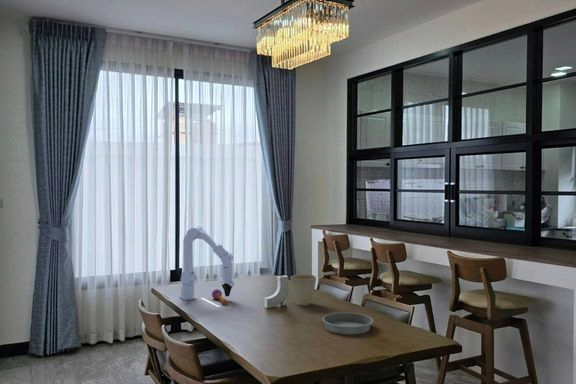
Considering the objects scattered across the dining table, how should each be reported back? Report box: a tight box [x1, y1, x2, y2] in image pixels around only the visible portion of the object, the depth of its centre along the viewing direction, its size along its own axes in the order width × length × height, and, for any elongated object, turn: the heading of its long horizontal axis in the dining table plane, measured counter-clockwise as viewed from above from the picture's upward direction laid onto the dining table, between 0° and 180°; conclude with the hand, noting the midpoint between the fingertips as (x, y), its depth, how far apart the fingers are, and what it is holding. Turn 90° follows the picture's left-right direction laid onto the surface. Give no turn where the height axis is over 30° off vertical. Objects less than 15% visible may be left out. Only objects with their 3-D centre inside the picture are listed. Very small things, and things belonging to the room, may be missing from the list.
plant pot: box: [290, 274, 317, 307], centre depth 281 cm, size 15×15×16 cm
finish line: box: [200, 297, 221, 308], centre depth 286 cm, size 26×2×1 cm, turn 32°
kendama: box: [211, 289, 229, 306], centre depth 289 cm, size 6×6×20 cm
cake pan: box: [321, 312, 374, 335], centre depth 235 cm, size 25×25×4 cm
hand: (227, 296), depth 292 cm, fingers closed
